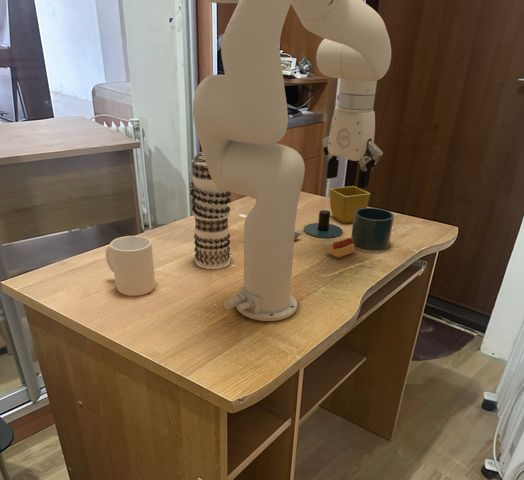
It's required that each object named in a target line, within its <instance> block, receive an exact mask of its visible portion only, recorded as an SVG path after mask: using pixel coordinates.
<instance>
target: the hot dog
mask: <svg viewBox="0 0 524 480" xmlns="http://www.w3.org/2000/svg"><path fill="white" fill-rule="evenodd" d="M355 248H356V247H355V244H352V239H351V237H346V238H343V239H340V240H339V239H338V240H336V241H334V242H333V243H332V244H331V245H329V251H328V254H330V255H332V256H334V257H336V258H341V257H344V256H346V255H347V256H348V255H350V254H353V253H354V252H355Z"/></svg>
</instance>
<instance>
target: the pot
mask: <svg viewBox="0 0 524 480" xmlns="http://www.w3.org/2000/svg"><path fill="white" fill-rule="evenodd" d="M394 219H395V215H394V213H392V212H391V211H389V210H387V209H383V208H378V207H367V208H361V209H357V210H356V211H355V213H354V220H353V222H352V229H351V236H350V239H352V244H355V247H354V248H357V249H361V250H365V251H373V252H376V251H383V250H386V249H388V248H389V245H390V241H391V234H392V230H393V224H394Z"/></svg>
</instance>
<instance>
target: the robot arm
mask: <svg viewBox="0 0 524 480" xmlns="http://www.w3.org/2000/svg"><path fill="white" fill-rule="evenodd" d="M204 2H207V3H212V4H237V5H236V7H235V9H234V11H233V13H232V16H231V17H230V19H229V21H228V23H227V26H226V28H225V30H224V33H223V35H222V41H221V47H220V55H221V61H222V66H223V71H224V72H223V73H224V74H212V75H208V76H206V77H205V78H203V79H202V80H201V81H200V82H199V83H198V85H197V87H196V89H195V91H194V95H193V101H192V119H193V123H194V127H195V131H196V134H197V139H198V141H199V145H200V147H201V148H200V149H201V152H203V155H204V158H205V161H206V164H207V168H208V171H209V174H210V176H211V178H212V180H213V182H214V183H215V185H216V186H217V187H219V188H220V189H222V190H225V191H228V192H230V193H231V194H236V195H241V196H246V197H249V198H252V199H255V204H254V205H253V207H252V208H251V209H250V211H249V212H248V214H247V215H246V217H245V220H244V226H243V240H244V241H243V286H241V287H239V291H238V294H236V295H235V296H234V297H231V298H227V299H224V300H223V305H224V308H225V309H226V310H231V309H233V308H236V310H237V311H238V312H239V313H240V314H241V315H242V316H244V317H245V318H249V319H251V320H255V321H259V322H260V321H261V322H275V321H282V320H286V319H288V318H289V317H291V316H293V315H294V314H295V313H296V311H297V310H298V301H297V298H296V297H294V295H293V294H291V292H292V291H291V289H292V275H293V259H294V247H295V239H294V234H295V230H296V221H297V220H296V219H297V211H298V206H299V200H300V197H301V192H302V189H303V188H302V187H303V183H304V178H305V172H306V165H305V161H304V159H303V156H302V155H301V154H300V153H299V152H298V151H297V150H296V149H295V148H293V147H290V146H287V145H285V144H280V143H278V142H279V141H281V140H282V139H283V138H284V136H285V135H286V133H287V129H288V125H289V115H288V113H289V112H288V104H287V96H286V89H285V82H284V74H283V66H282V58H281V38H282V37H281V36H282V32H283V27H284V25H285V21H286V18H287V15H288V12H289V10H290V7H291V6H292V9H293V10H294V12H295V14H296V16H297V17H298V19H299V21H300V23H301V24H302V26H303V27H304V29H306V30H307V31H308V32H310V33H311V34H314V35H316V36H318V37H320V38H323V40H321V42H320V43H319V45H318V47H317V50H316V66H317V68H318V70H319V72H320V73H321V74H322V75H323V76H325V77H327V78H332V79H340V80H341V81H340V88H339V89H340V90H339V93H338V94H337V96H336V99H337V101H338V107H335V108H334V112H333V115H332V119H331V124H330V129H329V135H326V136H325V137H323V138H322V139H321V142H322V147H323V153H324V155H325V160H326V161H327V167H326V179H327V180H329V179H330V180H331V179H334V178H337V177H338V174H339V165H340V160H339V158H342V159H345V160H349V161H352V162H353V161H354V162H358V164H359V166H360V170H359V171H358V177H357V184H356V187H357V188H359V189H361V190H362V189H364V188H368V187H369V184H370V183H369V182H370V179H371V171H372V170H374V168H375V167H376V166H377V165H378V164H379V162H380V160H381V159H382V157H383V155H384V152H383V150H381V149H380V148H379V146H378V145H377V144H376V143H375V142H374V141H375V136H376V135H375V133H376V113H375V112H376V111H375V110H374V104H375V98H376V92H377V83H378V81H380V80H381V79H383V77H385V75H386V74H387V73H388V71H389V69H390V66H391V61H392V46H391V44H392V43H391V40H390V36H389V32H388V30H387V27H386V24H385V22H384V20H383V18H382V17H381V15H380V14H379V13H378V12H377V11H376V10H375V9H374V8H373V7H371V6H370V5H369V4H367V3H366V2H364V0H204Z"/></svg>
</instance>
